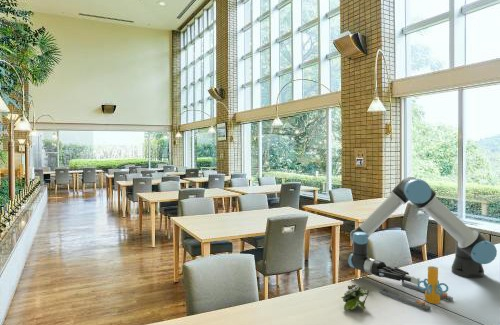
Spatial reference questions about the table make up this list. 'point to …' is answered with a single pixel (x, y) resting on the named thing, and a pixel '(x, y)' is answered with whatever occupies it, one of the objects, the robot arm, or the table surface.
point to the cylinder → (432, 286)
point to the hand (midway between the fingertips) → (418, 281)
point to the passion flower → (354, 297)
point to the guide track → (415, 303)
